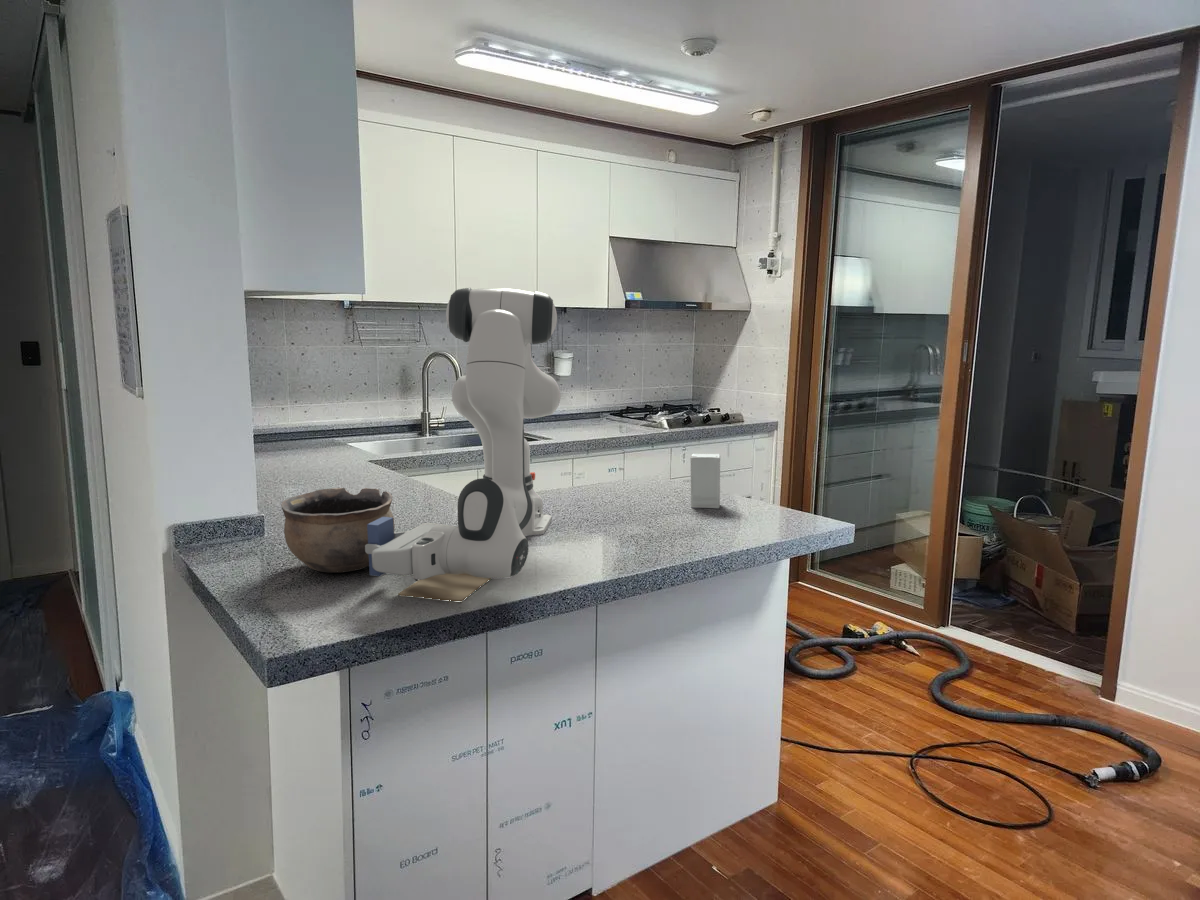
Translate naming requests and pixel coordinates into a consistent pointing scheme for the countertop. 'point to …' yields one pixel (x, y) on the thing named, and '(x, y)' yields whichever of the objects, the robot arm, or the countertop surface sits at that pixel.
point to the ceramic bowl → (333, 527)
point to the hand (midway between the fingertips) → (377, 542)
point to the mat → (445, 587)
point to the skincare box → (705, 480)
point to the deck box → (379, 536)
